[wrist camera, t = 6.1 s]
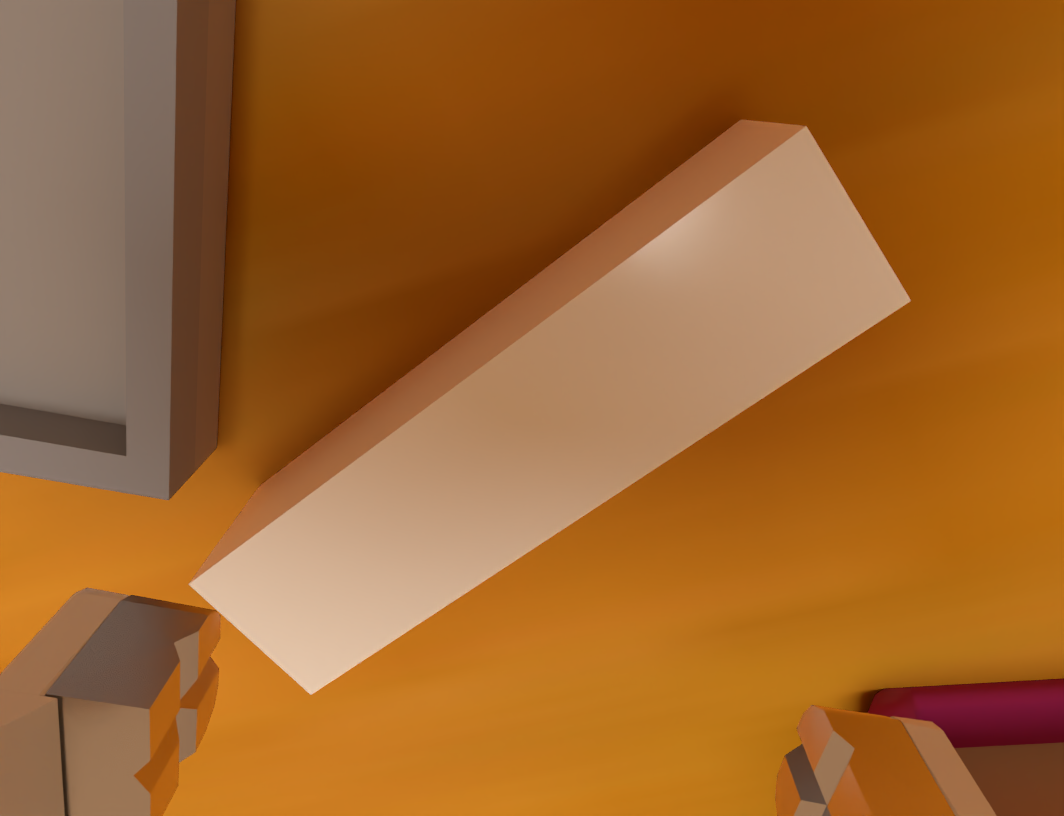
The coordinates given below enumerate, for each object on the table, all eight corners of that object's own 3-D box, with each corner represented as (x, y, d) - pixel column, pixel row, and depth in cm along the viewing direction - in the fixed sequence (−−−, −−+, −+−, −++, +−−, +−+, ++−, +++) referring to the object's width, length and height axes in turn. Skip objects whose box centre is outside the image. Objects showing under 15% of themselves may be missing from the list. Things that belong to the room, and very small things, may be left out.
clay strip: (738, 118, 18) (806, 125, 14) (822, 252, 19) (911, 300, 15) (262, 481, 22) (188, 584, 17) (356, 575, 23) (310, 694, 19)
